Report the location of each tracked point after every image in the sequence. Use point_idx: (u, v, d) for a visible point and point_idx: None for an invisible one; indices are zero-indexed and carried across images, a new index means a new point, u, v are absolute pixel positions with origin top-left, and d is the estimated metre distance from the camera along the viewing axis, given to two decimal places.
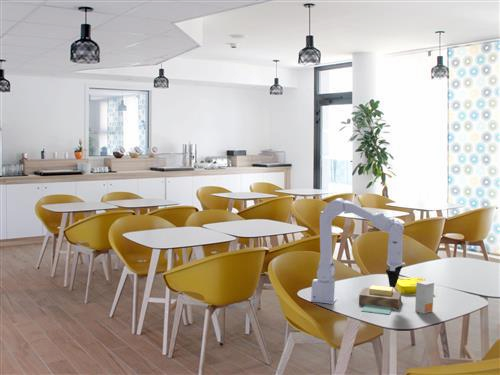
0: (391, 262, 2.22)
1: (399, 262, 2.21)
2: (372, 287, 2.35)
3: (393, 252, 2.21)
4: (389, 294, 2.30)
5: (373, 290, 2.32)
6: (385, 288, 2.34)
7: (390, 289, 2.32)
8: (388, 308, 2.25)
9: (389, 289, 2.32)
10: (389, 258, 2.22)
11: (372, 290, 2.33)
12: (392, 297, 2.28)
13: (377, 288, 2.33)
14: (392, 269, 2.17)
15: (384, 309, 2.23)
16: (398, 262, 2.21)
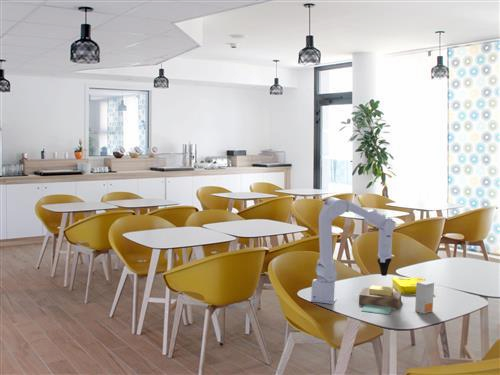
0: (381, 254, 2.38)
1: (389, 254, 2.38)
2: (372, 287, 2.35)
3: (383, 245, 2.37)
4: (389, 294, 2.30)
5: (373, 290, 2.32)
6: (385, 288, 2.34)
7: (390, 289, 2.32)
8: (388, 308, 2.25)
9: (389, 289, 2.32)
10: (379, 251, 2.39)
11: (372, 290, 2.33)
12: (392, 297, 2.28)
13: (377, 288, 2.33)
14: (382, 261, 2.34)
15: (384, 309, 2.23)
16: (388, 254, 2.38)
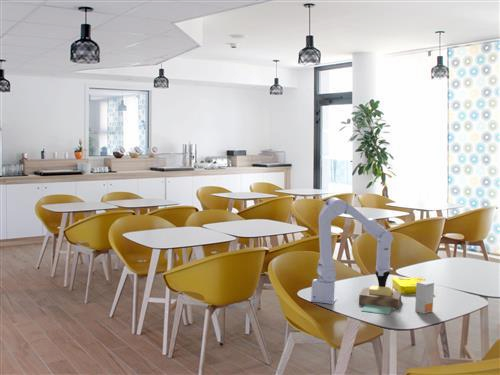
0: (379, 267, 2.34)
1: (387, 267, 2.34)
2: (372, 287, 2.34)
3: (381, 258, 2.34)
4: (389, 294, 2.30)
5: (373, 290, 2.32)
6: (385, 288, 2.33)
7: (390, 289, 2.32)
8: (388, 308, 2.25)
9: (389, 290, 2.31)
10: (378, 263, 2.35)
11: (371, 290, 2.32)
12: (392, 297, 2.28)
13: (377, 288, 2.33)
14: (380, 274, 2.30)
15: (384, 309, 2.23)
16: (386, 267, 2.34)
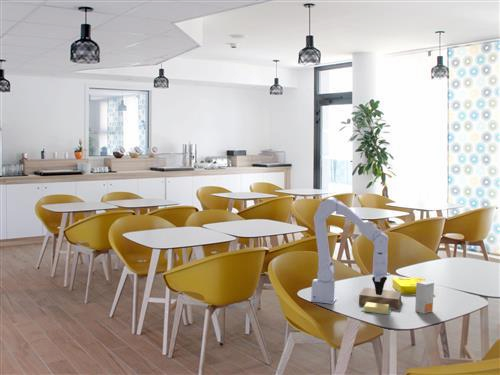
0: (376, 273, 2.25)
1: (384, 273, 2.25)
2: None
3: (378, 263, 2.24)
4: None
5: None
6: None
7: None
8: None
9: None
10: (374, 269, 2.26)
11: None
12: (392, 297, 2.28)
13: None
14: (377, 280, 2.21)
15: None
16: (383, 272, 2.25)
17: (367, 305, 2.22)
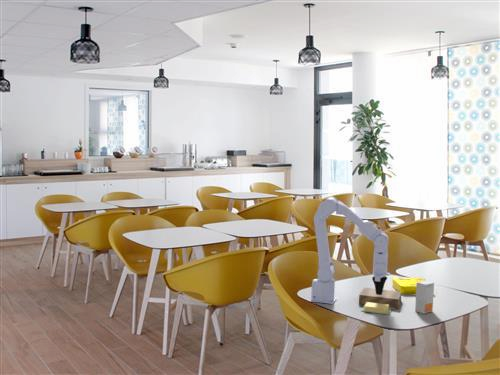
0: (376, 272, 2.25)
1: (384, 272, 2.25)
2: None
3: (378, 263, 2.25)
4: None
5: None
6: None
7: None
8: None
9: None
10: (374, 268, 2.26)
11: None
12: (392, 297, 2.28)
13: None
14: (377, 279, 2.21)
15: None
16: (383, 272, 2.25)
17: (367, 305, 2.22)
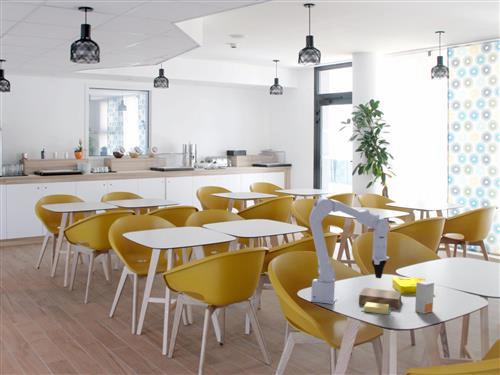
0: (376, 256, 2.31)
1: (383, 256, 2.30)
2: None
3: (378, 246, 2.30)
4: None
5: None
6: None
7: None
8: None
9: None
10: (374, 252, 2.32)
11: None
12: (392, 297, 2.28)
13: None
14: (376, 263, 2.26)
15: None
16: (383, 256, 2.30)
17: (367, 305, 2.22)
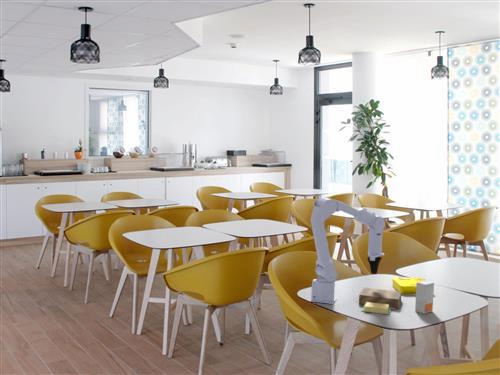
0: (371, 252, 2.38)
1: (379, 252, 2.37)
2: None
3: (373, 243, 2.37)
4: None
5: None
6: None
7: None
8: None
9: None
10: (369, 249, 2.38)
11: None
12: (392, 297, 2.28)
13: None
14: (372, 259, 2.33)
15: None
16: (378, 252, 2.37)
17: (367, 305, 2.22)
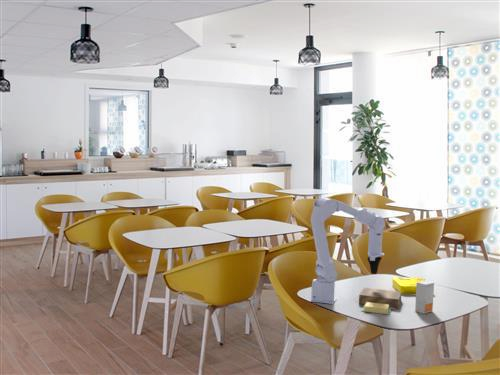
0: (371, 252, 2.38)
1: (379, 252, 2.37)
2: None
3: (373, 243, 2.37)
4: None
5: None
6: None
7: None
8: None
9: None
10: (369, 249, 2.38)
11: None
12: (392, 297, 2.28)
13: None
14: (372, 259, 2.33)
15: None
16: (378, 252, 2.37)
17: (367, 305, 2.22)
